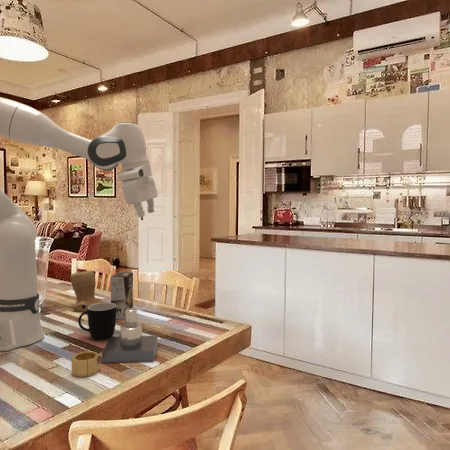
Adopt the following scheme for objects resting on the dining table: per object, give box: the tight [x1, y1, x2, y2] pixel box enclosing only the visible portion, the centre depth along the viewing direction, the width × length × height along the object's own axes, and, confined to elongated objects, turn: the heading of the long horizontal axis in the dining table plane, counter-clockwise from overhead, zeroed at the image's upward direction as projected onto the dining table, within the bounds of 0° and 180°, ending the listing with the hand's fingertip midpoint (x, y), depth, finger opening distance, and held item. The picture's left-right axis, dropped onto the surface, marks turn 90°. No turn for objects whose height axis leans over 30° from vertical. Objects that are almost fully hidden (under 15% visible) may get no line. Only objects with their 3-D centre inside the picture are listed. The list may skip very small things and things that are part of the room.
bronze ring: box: [71, 350, 101, 378], centre depth 102 cm, size 6×6×4 cm
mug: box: [77, 302, 117, 341], centre depth 127 cm, size 12×9×10 cm
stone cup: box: [70, 270, 103, 313], centre depth 159 cm, size 15×12×15 cm
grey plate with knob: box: [101, 307, 159, 364], centre depth 114 cm, size 14×12×13 cm
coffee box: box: [110, 272, 134, 321], centre depth 149 cm, size 9×6×16 cm
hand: (146, 214), depth 129 cm, fingers open, 8 cm apart
